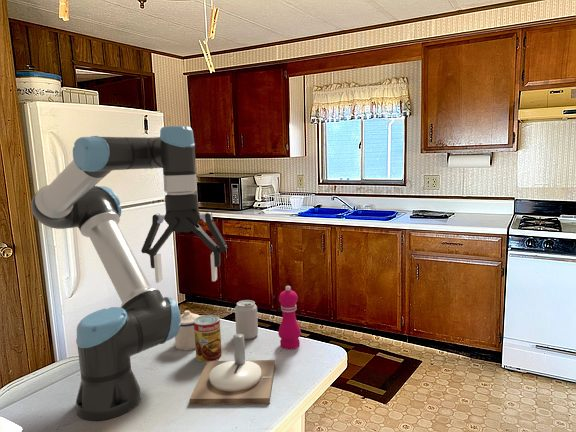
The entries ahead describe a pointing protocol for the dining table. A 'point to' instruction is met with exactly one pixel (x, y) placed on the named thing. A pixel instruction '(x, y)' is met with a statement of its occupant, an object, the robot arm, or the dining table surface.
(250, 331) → the can
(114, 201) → the robot arm
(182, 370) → the dining table surface
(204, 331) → the canned food
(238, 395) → the dial board
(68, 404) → the dining table surface
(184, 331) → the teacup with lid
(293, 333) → the pepper mill
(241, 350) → the dial
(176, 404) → the dining table surface
